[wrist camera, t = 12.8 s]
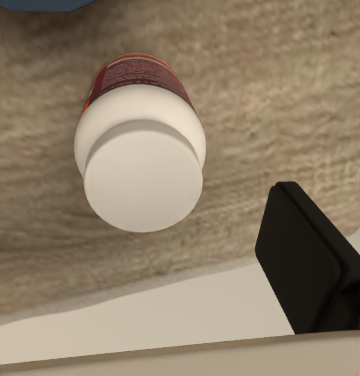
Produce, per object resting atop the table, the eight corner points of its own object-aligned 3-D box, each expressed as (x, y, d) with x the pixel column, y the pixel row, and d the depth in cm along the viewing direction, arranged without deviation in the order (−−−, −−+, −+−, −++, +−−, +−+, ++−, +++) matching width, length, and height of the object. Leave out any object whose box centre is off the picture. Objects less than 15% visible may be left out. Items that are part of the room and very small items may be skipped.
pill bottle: (76, 62, 20) (33, 129, 11) (174, 41, 20) (212, 91, 11) (105, 151, 24) (91, 259, 14) (189, 132, 24) (228, 229, 15)
